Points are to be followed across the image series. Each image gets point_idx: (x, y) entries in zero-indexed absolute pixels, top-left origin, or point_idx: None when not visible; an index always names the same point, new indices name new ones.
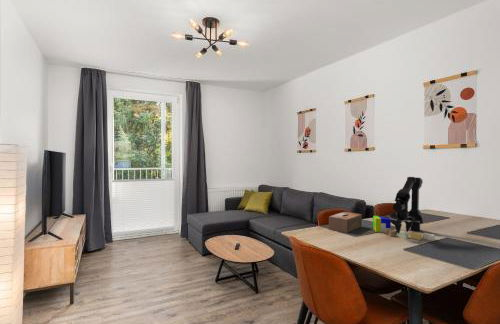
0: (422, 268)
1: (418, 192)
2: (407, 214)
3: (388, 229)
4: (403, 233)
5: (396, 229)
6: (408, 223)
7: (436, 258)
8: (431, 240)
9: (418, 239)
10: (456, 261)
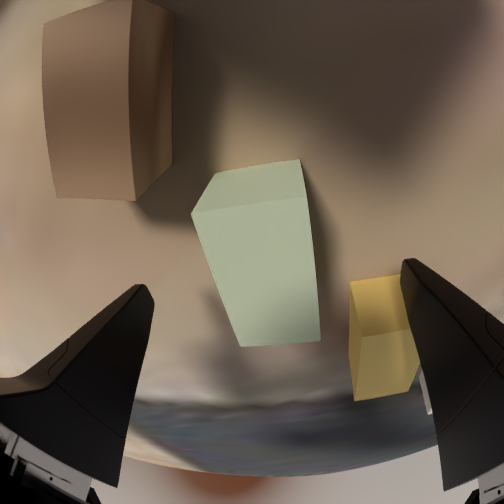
0: None
1: None
2: None
3: (103, 18)
4: (233, 319)
5: (89, 328)
6: (468, 436)
7: (165, 448)
8: (420, 375)
9: (348, 354)
10: (210, 463)
